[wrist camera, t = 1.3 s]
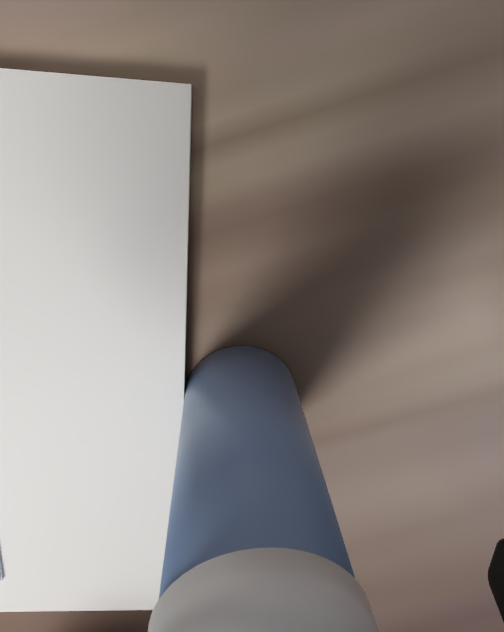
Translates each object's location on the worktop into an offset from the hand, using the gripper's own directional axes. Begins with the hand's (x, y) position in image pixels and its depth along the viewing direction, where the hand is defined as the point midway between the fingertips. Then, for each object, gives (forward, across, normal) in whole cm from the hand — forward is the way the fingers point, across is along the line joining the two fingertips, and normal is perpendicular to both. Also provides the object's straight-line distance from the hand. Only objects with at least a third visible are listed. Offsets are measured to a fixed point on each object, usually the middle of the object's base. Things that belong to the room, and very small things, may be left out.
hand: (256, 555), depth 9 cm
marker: (+6, 0, 0) cm, 6 cm away
